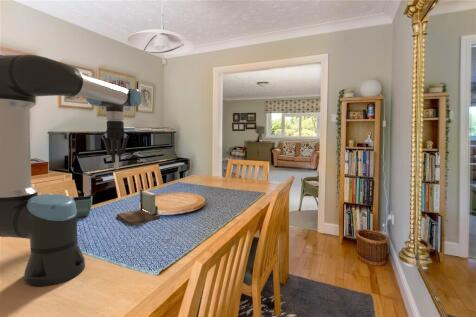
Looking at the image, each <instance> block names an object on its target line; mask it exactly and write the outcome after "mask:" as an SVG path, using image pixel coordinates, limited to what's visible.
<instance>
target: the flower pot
mask: <svg viewBox="0 0 476 317" xmlns="http://www.w3.org/2000/svg"><path fill="white" fill-rule="evenodd" d="M72 198H73V199H74V201H75V204H76V209H77V218H80V217H81V218H82V217H88V216H90V213H91V210H92V206H93V195H86V196H82V195H81V196H73V197H72Z"/></svg>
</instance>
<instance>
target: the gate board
mask: <svg viewBox="0 0 476 317" xmlns="http://www.w3.org/2000/svg"><path fill="white" fill-rule="evenodd" d="M142 191H145V189H144V188H142V189H140V190H139V197H140V199H139V200H140V201H139V202H140V203H139V204H140V209H135V210H130V211H125V212H120V213H117V214H116V218H118V219H120V220H121V221H123V222H125V223H126V224H128V225H129V226H134V225H138V224H142V223H146V222H150V221H154V220H159V219H161V214H159V208H158V205H155V214H151V213H149V212H145V211H143V210H142V209H143V194H142Z"/></svg>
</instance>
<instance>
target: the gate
mask: <svg viewBox="0 0 476 317" xmlns="http://www.w3.org/2000/svg"><path fill="white" fill-rule="evenodd" d="M142 194H143V209H144V210H146V211H148V212H150V213H151V214H155V206H156V193H153V192H150V191H147V190H144V191H142Z"/></svg>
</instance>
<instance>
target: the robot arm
mask: <svg viewBox="0 0 476 317" xmlns="http://www.w3.org/2000/svg"><path fill="white" fill-rule="evenodd" d="M52 96H54V97H55V96H62V97H68V98H73V97H76V96H78V97H83V98H85V99H86V102H87V103H88V104H89V105H91V106H95V107H105V108H106V109H105V110H106V113H105V114H106V116H105V117H106V120H107V121H106V131H105V133H104V134H101V135H100V137H101V139H102V141H103V143H104V147H105V151H106V154H107V155H109V156H111V162H112V163H113V168H114V169H115V170H119V169H120V163H122V162H121V161H122V159H121V158H122V157H121V156H122V155H125V154H126V149H127V145H128V140H129V138H130V137H131V136H130V135H129V134H126V132H125V125H124V124H125V123H124V120H125V119H124V107H132V108H134V107H139V106H140V105H141V104H142V103H143V102H142V101H143V100H142V99H143V98H142V97H143V96H142V93H141V91H140V90H139V89H138V88H127V87H123V86H120V85H117V84H114V83H112V82H108V81H105V80H102V79H100V78H97V77H95V76H91V75H88V74H86V73H82V72H81V71H80V70H79V69H78V68H77V67H75V66H72V65H69V64H66V63H63V62H61V61H58V60H55V59H52V58H48V57H46V56H43V55H42V56H41V55H37V54H36V55H35V54H10V55H9V54H7V55H6V54H5V55H4V54H0V237H1V238H16V239H17V238H18V239H26V240H27V239H29V246H30V254H29V256H28V261H27V264H26V267H25V269H24V273H23V274H24V276H23V277H24V283H25V284H26V285H28V286H31V287H47V286H53V285H57V284H60V283H63V282H66V281H68V280H71V279H73V278H75V277H76V276H78V275H79V274H81V273H82V272H83V271H84V269H86V268H85V267H86V259H85V256H84V255H83V253H82V252H83V251H82V250H81V248H80V246H79V242H78V217H77V209H76V204H75V201H74V199H73V197H71V196H70V195H69V196H68V195H66V194H60V193H57V194H56V193H53V194H51V193H46V194H39V195H38V189H37V188H35V187H34V186H33V185H32V159H31V158H32V157H31V126H30V124H31V123H30V122H31V121H30V119H31V118H30V109H31V108H34V106H36V97H52ZM108 138H109V140H110V144H109V140H108ZM122 138H123V140H122ZM121 144H122V145H121Z"/></svg>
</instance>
